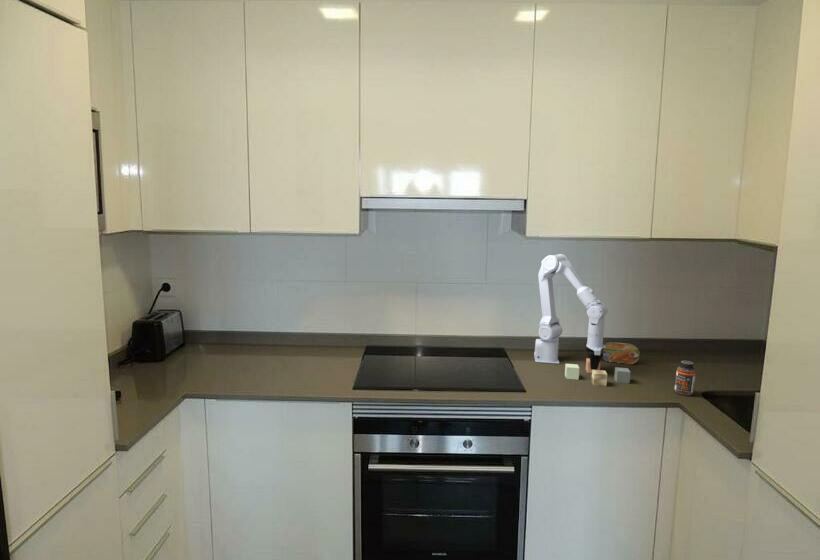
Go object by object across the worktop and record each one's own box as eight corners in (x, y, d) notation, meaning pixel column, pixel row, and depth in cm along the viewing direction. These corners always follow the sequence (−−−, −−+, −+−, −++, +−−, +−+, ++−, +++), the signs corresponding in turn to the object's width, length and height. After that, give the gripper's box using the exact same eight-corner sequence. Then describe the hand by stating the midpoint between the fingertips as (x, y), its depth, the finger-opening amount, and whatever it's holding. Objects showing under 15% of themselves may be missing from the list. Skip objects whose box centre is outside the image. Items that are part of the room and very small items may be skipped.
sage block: (566, 378, 198) (566, 367, 197) (564, 374, 202) (565, 363, 202) (578, 379, 197) (579, 368, 197) (576, 375, 202) (577, 364, 201)
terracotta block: (587, 372, 205) (588, 361, 205) (585, 369, 210) (586, 358, 209) (599, 373, 205) (600, 362, 204) (597, 370, 209) (598, 359, 208)
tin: (600, 361, 220) (601, 341, 219) (599, 359, 223) (601, 339, 222) (639, 365, 216) (641, 345, 214) (638, 363, 219) (640, 343, 217)
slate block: (616, 382, 195) (617, 371, 194) (614, 378, 199) (615, 367, 199) (629, 383, 194) (630, 372, 194) (626, 379, 199) (627, 368, 198)
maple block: (593, 385, 192) (594, 373, 191) (591, 381, 196) (592, 369, 195) (606, 386, 191) (607, 374, 190) (604, 382, 195) (605, 370, 195)
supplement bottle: (672, 393, 185) (676, 362, 183) (675, 388, 190) (678, 358, 188) (692, 397, 182) (695, 365, 180) (694, 392, 187) (697, 361, 185)
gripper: (610, 339, 197) (607, 374, 199) (602, 330, 211) (600, 363, 213) (590, 338, 198) (587, 373, 200) (584, 329, 212) (582, 361, 214)
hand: (592, 367), depth 207 cm, fingers closed on terracotta block, 4 cm apart
